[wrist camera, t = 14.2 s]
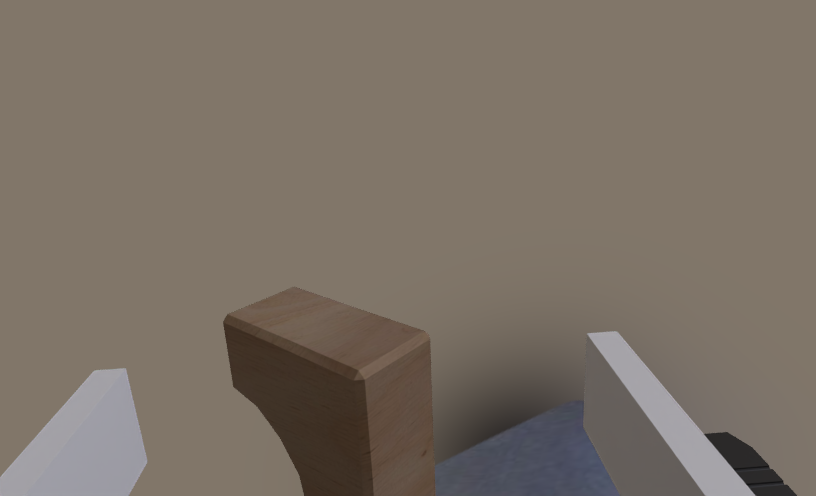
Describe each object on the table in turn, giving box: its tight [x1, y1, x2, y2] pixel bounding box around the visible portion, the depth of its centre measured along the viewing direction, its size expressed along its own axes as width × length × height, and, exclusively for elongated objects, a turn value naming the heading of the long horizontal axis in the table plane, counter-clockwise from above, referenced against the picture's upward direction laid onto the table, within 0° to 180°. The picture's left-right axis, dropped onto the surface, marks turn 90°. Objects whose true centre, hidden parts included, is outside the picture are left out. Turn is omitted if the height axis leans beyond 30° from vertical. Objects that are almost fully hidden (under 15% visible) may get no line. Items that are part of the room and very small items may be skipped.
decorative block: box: [223, 287, 436, 496], centre depth 36 cm, size 11×6×20 cm, turn 49°
